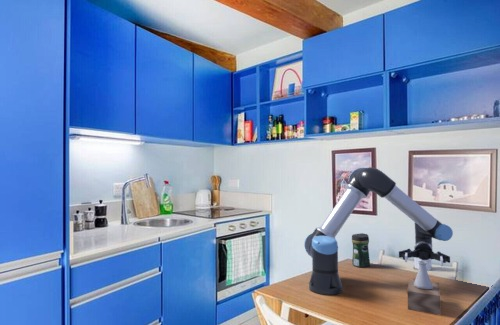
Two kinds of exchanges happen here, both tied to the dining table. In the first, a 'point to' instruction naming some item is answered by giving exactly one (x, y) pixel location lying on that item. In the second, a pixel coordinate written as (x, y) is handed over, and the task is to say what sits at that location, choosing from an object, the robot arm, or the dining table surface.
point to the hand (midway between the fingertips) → (423, 260)
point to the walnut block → (424, 298)
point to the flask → (423, 277)
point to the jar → (428, 265)
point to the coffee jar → (360, 250)
